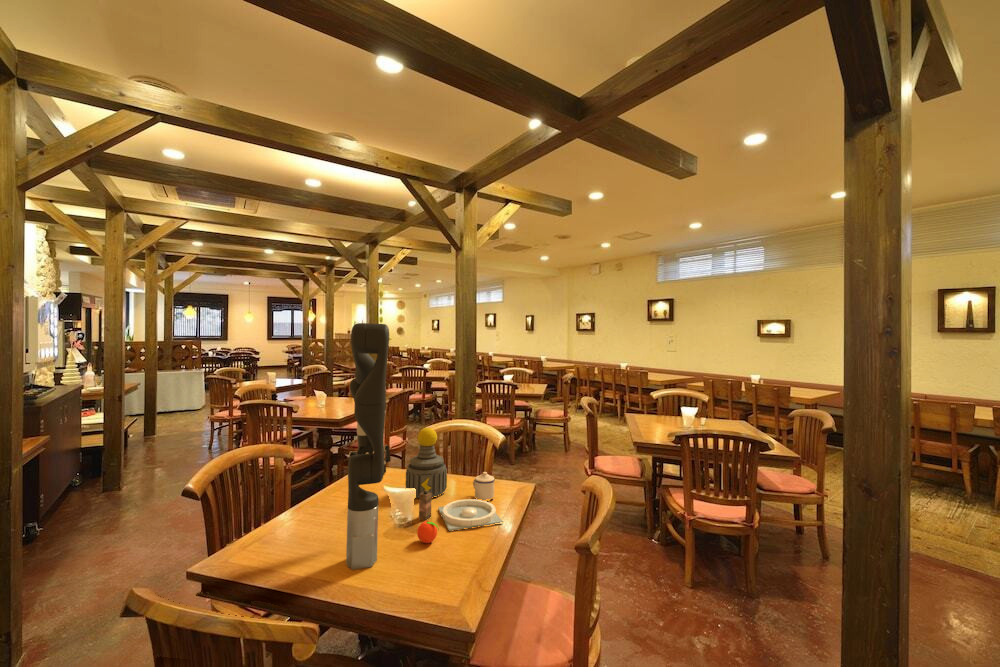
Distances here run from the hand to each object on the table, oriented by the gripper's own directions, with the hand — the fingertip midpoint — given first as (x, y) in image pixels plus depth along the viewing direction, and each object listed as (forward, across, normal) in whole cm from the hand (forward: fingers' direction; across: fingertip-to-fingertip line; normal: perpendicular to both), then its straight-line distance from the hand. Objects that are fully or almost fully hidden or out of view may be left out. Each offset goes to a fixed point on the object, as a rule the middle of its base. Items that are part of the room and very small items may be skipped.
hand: (371, 477), depth 145 cm
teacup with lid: (+24, +51, +13) cm, 58 cm away
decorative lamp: (+22, +31, +31) cm, 49 cm away
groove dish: (+24, +36, -2) cm, 43 cm away
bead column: (+22, +21, +5) cm, 31 cm away
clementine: (+23, +15, -14) cm, 31 cm away
